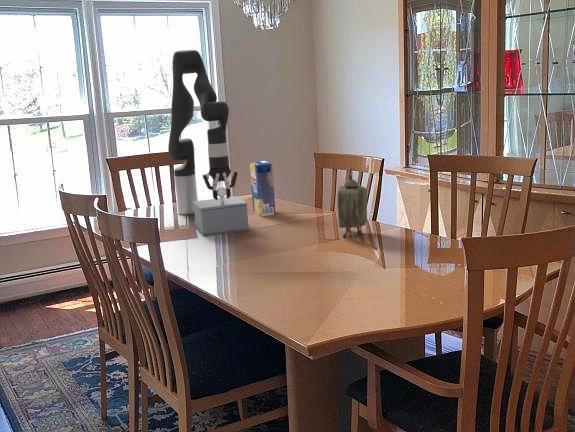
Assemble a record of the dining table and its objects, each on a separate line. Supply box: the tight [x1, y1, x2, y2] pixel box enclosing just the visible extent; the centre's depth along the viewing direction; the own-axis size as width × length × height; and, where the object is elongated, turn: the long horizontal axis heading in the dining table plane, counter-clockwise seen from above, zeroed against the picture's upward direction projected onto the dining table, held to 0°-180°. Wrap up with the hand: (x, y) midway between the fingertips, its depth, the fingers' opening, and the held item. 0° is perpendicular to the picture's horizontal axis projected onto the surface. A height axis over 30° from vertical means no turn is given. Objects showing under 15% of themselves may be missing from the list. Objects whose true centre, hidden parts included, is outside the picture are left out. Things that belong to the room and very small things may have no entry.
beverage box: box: [249, 160, 276, 217], centre depth 281 cm, size 7×11×22 cm, turn 18°
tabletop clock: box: [337, 166, 368, 239], centre depth 235 cm, size 14×9×25 cm, turn 168°
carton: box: [194, 204, 250, 237], centre depth 258 cm, size 16×18×10 cm
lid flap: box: [193, 186, 248, 210], centre depth 256 cm, size 16×18×8 cm
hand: (222, 198), depth 251 cm, fingers closed on lid flap, 4 cm apart
